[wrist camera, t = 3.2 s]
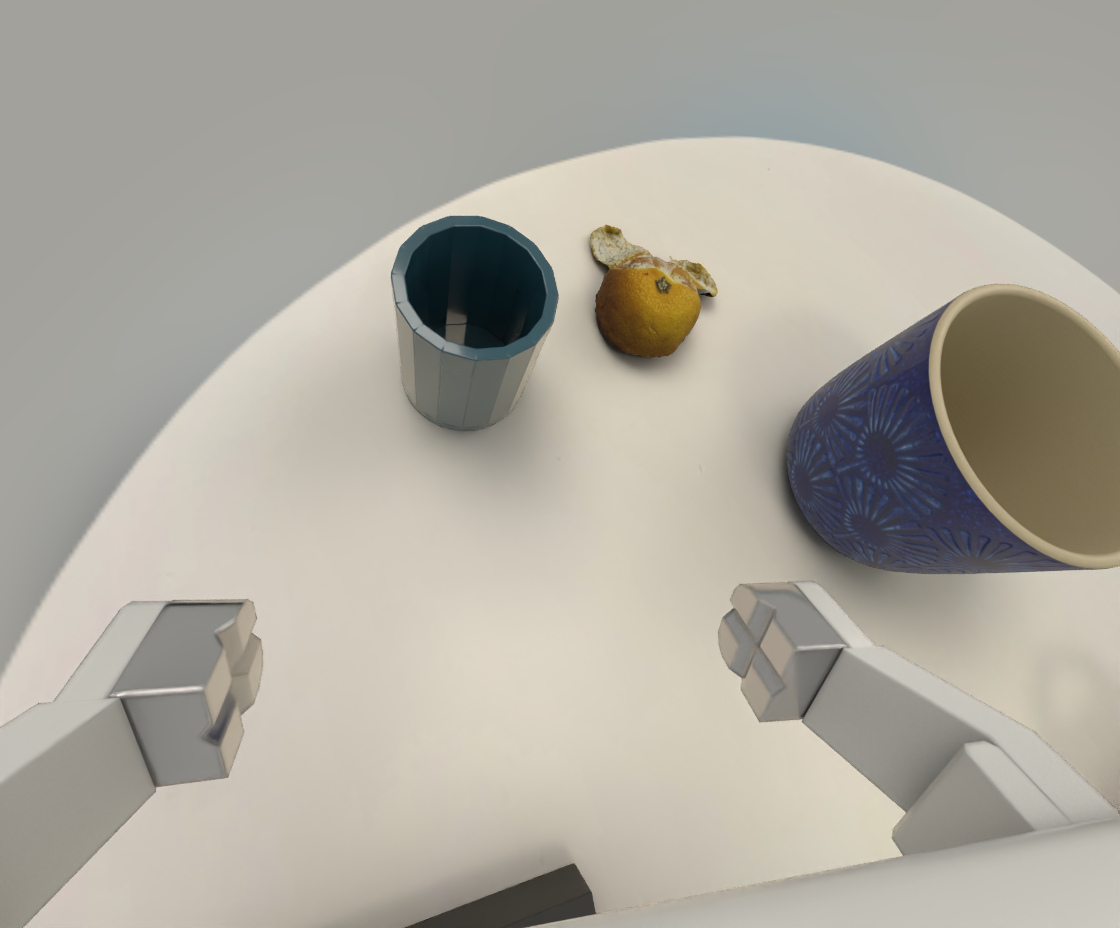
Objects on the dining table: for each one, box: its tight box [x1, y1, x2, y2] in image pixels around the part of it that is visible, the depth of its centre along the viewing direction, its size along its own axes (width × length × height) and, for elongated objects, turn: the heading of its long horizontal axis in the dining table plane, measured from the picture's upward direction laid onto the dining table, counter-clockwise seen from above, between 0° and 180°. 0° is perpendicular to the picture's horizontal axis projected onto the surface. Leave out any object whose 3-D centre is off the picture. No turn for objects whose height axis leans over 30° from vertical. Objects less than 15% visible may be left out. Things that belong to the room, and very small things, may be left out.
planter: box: [787, 284, 1120, 574], centre depth 26 cm, size 12×12×11 cm
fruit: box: [590, 225, 717, 357], centre depth 29 cm, size 8×8×4 cm
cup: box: [391, 216, 559, 431], centre depth 23 cm, size 6×6×8 cm
